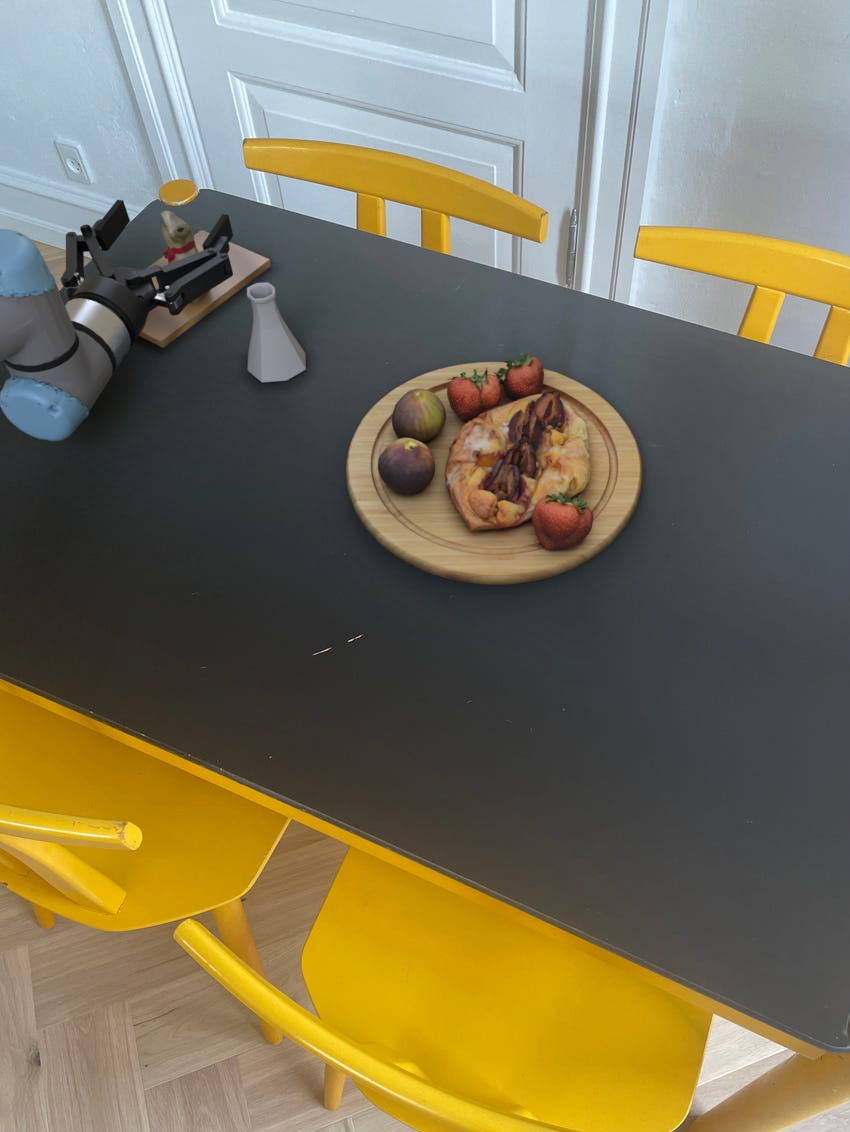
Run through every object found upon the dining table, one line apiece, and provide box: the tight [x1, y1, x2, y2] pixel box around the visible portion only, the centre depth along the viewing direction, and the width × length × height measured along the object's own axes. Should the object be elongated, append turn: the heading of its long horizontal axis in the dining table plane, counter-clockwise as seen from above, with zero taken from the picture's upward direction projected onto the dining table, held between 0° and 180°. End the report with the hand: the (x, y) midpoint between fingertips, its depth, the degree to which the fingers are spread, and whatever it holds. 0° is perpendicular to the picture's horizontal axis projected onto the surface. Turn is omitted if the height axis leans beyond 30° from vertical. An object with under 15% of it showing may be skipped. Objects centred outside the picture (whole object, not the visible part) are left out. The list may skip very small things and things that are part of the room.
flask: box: [246, 281, 307, 383], centre depth 102 cm, size 7×7×10 cm
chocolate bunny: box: [160, 209, 207, 303], centre depth 109 cm, size 6×8×10 cm
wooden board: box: [138, 229, 272, 348], centre depth 114 cm, size 20×12×1 cm, turn 147°
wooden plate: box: [345, 351, 644, 586], centre depth 93 cm, size 32×32×8 cm
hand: (175, 217), depth 109 cm, fingers open, 13 cm apart
